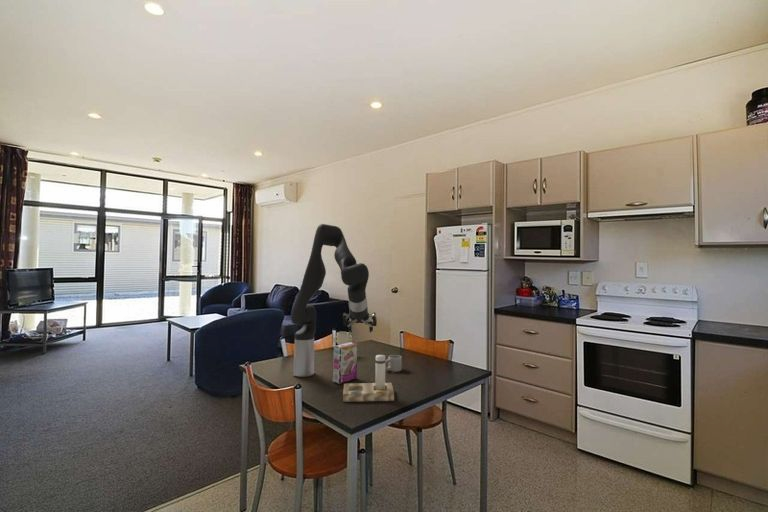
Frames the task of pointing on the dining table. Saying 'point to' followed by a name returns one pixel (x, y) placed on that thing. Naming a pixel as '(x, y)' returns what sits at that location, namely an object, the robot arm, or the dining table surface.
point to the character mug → (342, 338)
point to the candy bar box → (344, 362)
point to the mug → (394, 363)
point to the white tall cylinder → (380, 372)
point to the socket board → (367, 392)
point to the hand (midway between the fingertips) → (360, 330)
